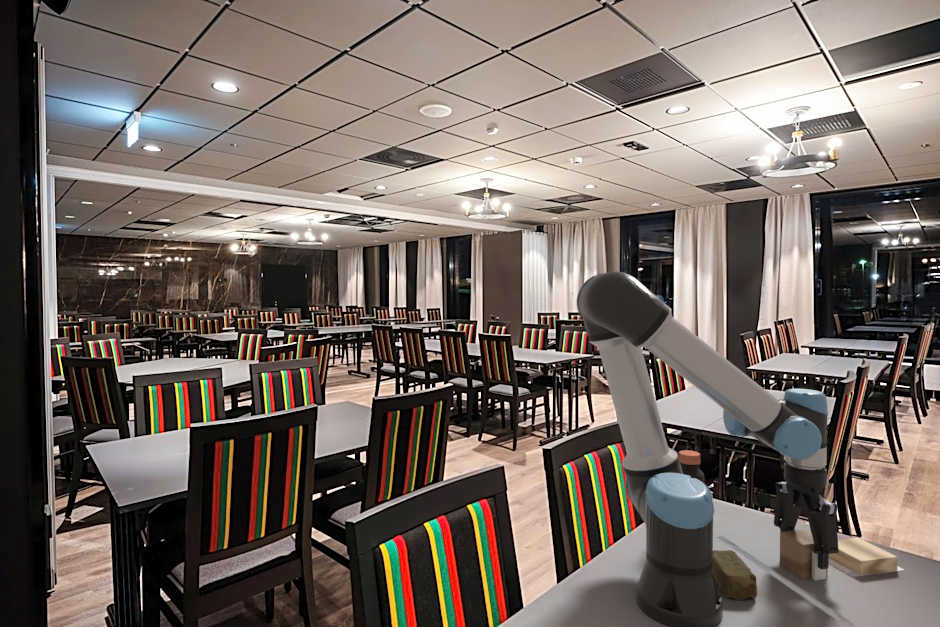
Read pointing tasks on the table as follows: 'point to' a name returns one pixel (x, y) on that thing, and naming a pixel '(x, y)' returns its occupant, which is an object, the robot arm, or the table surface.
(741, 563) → the stone block
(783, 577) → the table surface
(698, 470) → the bottle
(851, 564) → the oak plinth
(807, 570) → the walnut block
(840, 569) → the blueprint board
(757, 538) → the table surface
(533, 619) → the table surface
